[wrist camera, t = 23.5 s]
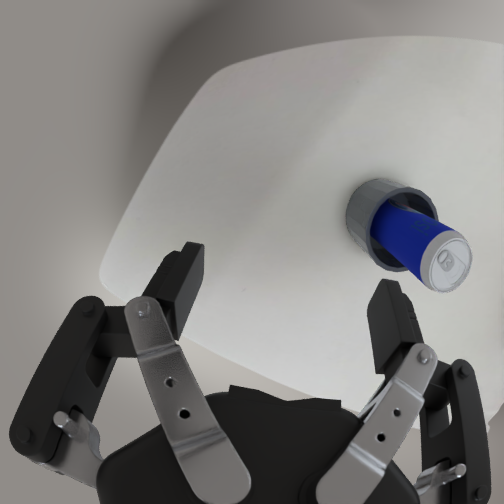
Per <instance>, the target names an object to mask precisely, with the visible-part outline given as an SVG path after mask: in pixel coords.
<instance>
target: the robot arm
mask: <svg viewBox="0 0 504 504" xmlns="http://www.w3.org/2000/svg"><path fill="white" fill-rule="evenodd" d="M203 275H204V244H199V243H193V242H188V241H187V242H186V244H185V245H184V247H183V249H182V251H181V252H179V251H172V252H171V253H169V254H168V255H167V256H165V258H164V259H163V261H162V262H161V264H160V266H159V267H158V269H157V271H156V273H155V274H154V275H153V277H152V279H151V280H150V282H149V284H148V285H147V287H146V289H145V291H144V292H143V294H142V296H140V297H136V298H134V299H132V300H130V301H129V302H128V303H127V305H126V306H105V305H104V303H103V301H102V300H101V299H100V298H98V297H96V296H86V297H83V298H81V299H79V300H78V301H77V302H76V303H75V304H74V305H73V307H72V308H71V310H70V312H69V314H68V315H67V316H66V318H65V320H64V322H63V323H62V325H61V326H60V328H59V330H58V331H57V333H56V335H55V337H54V339H53V340H52V342H51V344H50V346H49V347H48V349H47V351H46V353H45V354H44V356H43V358H42V360H41V362H40V364H39V366H38V368H37V370H36V372H35V374H34V375H33V377H32V380H31V382H30V384H29V386H28V388H27V390H26V392H25V394H24V396H23V399H22V401H21V403H20V405H19V407H18V410H17V412H16V414H15V417H14V419H13V421H12V424H11V426H10V431H9V438H10V441H11V444H12V446H13V447H14V449H15V450H16V451H17V452H18V453H20V454H21V455H23V456H25V457H27V458H29V459H30V460H31V461H32V462H34V463H36V464H38V465H40V466H42V467H44V468H46V469H48V470H51V471H54V472H56V473H59V474H61V475H67V476H69V477H71V478H73V479H75V480H77V481H79V482H81V483H84V484H86V485H89V486H91V487H93V488H96V489H97V493H98V497H99V501H100V504H487V503H488V501H489V498H490V495H491V471H490V458H489V449H488V440H487V432H486V426H485V419H484V414H483V408H482V403H481V398H480V394H479V389H478V385H477V381H476V377H475V373H474V370H473V368H472V366H471V365H470V364H469V363H468V362H467V361H465V360H463V359H457V360H455V361H454V362H453V363H452V364H451V365H449V364H446V363H444V362H441V361H439V360H437V356H436V353H435V352H434V350H433V349H432V348H431V347H429V346H428V345H426V344H424V341H423V337H422V334H421V331H420V327H419V324H418V321H417V320H416V319H417V317H416V314H415V313H414V308H413V305H412V302H411V301H410V299H409V298H408V297H407V295H406V294H404V293H402V291H401V288H400V285H399V282H398V281H393V280H388V279H382V280H381V281H380V282H379V284H378V286H377V288H376V290H375V292H374V294H373V296H372V298H371V300H370V302H369V304H368V309H367V317H368V323H369V329H370V336H371V342H372V349H373V357H374V364H375V372H376V374H385V379H384V380H383V382H382V383H381V384H380V386H379V387H378V389H377V390H376V392H375V393H374V394H373V396H372V397H371V399H370V400H369V401H368V403H367V404H366V405H365V407H364V408H363V409H362V410H361V412H360V413H359V414H358V415H357V416H356V415H354V414H353V413H351V412H349V411H347V410H345V409H343V408H341V400H333V399H322V398H310V399H302V400H294V401H285V400H282V399H279V398H277V397H274V396H272V395H269V394H267V393H264V392H262V391H259V390H256V389H250V388H244V387H239V386H234V385H230V387H229V392H219V393H213V394H209V395H206V396H204V395H203V393H202V391H201V389H200V388H199V385H198V383H197V381H196V379H195V377H194V375H193V373H192V371H191V369H190V367H189V364H188V362H187V360H186V358H185V356H184V354H183V351H182V349H181V347H180V346H179V345H177V344H176V343H175V340H177V341H179V338H180V336H181V333H182V331H183V328H184V326H185V323H186V321H187V318H188V316H189V313H190V311H191V308H192V306H193V303H194V301H195V299H196V296H197V294H198V291H199V289H200V286H201V284H202V280H203ZM118 357H128V358H130V357H132V358H137V359H138V362H139V365H140V368H141V371H142V374H143V377H144V380H145V383H146V386H147V389H148V391H149V394H150V397H151V399H152V402H153V405H154V407H155V410H156V412H157V415H158V417H159V419H160V422H161V424H160V425H158V426H157V427H155V428H153V429H152V430H150V431H148V432H147V433H145V434H144V435H142V436H140V437H139V438H137V439H135V440H134V441H132V442H130V443H129V444H127V445H125V446H124V447H122V448H120V449H118V450H117V451H115V452H113V453H112V454H110V455H109V456H108V457H107V458H105V459H104V460H103V459H102V457H101V455H100V452H99V443H100V436H99V432H98V430H97V429H96V427H95V426H94V425H92V421H93V419H94V416H95V413H96V410H97V408H98V405H99V402H100V400H101V397H102V394H103V392H104V389H105V387H106V384H107V382H108V379H109V377H110V374H111V372H112V370H113V367H114V365H115V362H116V360H117V358H118ZM449 403H450V406H451V413H452V421H451V424H450V425H449V417H448V409H447V405H448V404H449ZM418 414H419V416H420V430H421V451H422V473H421V474H420V475H419V476H418V478H417V482H416V483H415V484H414V485H412V484H411V483H410V481H409V480H408V479H407V478H406V476H405V475H404V474H403V473H402V471H401V470H400V469H399V467H398V466H397V465H396V464H395V463H394V461H393V460H392V458H393V456H394V455H395V453H396V452H397V450H398V449H399V447H400V445H401V444H402V442H403V440H404V439H405V437H406V435H407V434H408V432H409V430H410V428H411V427H412V425H413V423H414V421H415V419H416V417H417V416H418Z"/></svg>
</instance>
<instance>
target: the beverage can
mask: <svg viewBox="0 0 504 504" xmlns="http://www.w3.org/2000/svg"><path fill="white" fill-rule="evenodd" d="M370 236H371V237H372V238H374V239H375V240H376V241H377V242H378V243H379V244H380V245H382V246H383V247H384V248H385V249H386V250H387V251H388V252H390V253H391V254H392V255H393V256H394V257H395V258H396V259H397V260H398V261H400V262H401V263H402V264H403V265H404V266H405V267H406V268H407V269H408V270H409V271H410V272H411V273H413V274H414V275H415V276H416V277H417V278H418V279H419V280H420V281H421V282H422V283H423V284H424V285H425V286H426V287H427V288H429V289H431V290H434V291H437V292H440V293H448V292H451V291H453V290H455V289H456V288H457V287H459V286H460V285H461V284H462V283H463V281H464V280H465V279H466V277H467V275H468V273H469V271H470V268H471V264H472V250H471V247H470V245H469V243H468V242H467V241H466V239H465V238H464V237H463V235H462V234H460V233H459V232H457V231H455V230H453V229H452V228H450V227H448V226H446V225H444V224H442V223H440V222H438V221H436V220H434V219H432V218H430V217H428V216H426V215H424V214H422V213H420V212H418V211H416V210H414V209H412V208H410V207H408V206H405V205H403V204H401V203H399V202H397V201H395V200H392V199H390V198H388V199H387V200H386V201H385V202H384V203H383V204H382V205H381V206H380V207H379V209H378V210H377V212H376V214H375V215H374V217H373V221H372V224H371V228H370Z"/></svg>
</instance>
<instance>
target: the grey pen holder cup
mask: <svg viewBox="0 0 504 504" xmlns="http://www.w3.org/2000/svg"><path fill="white" fill-rule="evenodd" d="M388 198H390V199H392V200H395V201H397V202H399V203H401V204H403V205H405V206H408V207H410V208H412V209H414V210H416V211H418V212H420V213H422V214H424V215H426V216H428V217H430V218H432V219H434V220H436V221H438V222H439V220H438V215H437V211H436V208H435V206H434V204H433V203H432V201H431V199H430V198H429V197H428V196H427V195H426V194H424V193H423V192H422V191H420V190H417V189H414V188H411V187H408V186H405V185H402V184H399V183H396V182H393V181H390V180H386V179H374V180H371V181H368V182H366V183H364V184H363V185H361V186H360V187H359V188H358V189H357V190H356V191H355V192H354V193H353V195H352V196H351V198H350V200H349V203H348V206H347V210H346V224H347V228H348V231H349V233H350V235H351V236H352V238H353V239H354V240H355V241H356V242H357V244H358V245H359V246H360V247H361V248H362V249H363V250H364V251H365V252H366V253H367V254H368V256H369V257H370V258H371V259H372V260H373V261H374V262H375V263H376V264H377V265H378V266H380V267H382V268H383V269H385V270H388V271H393V272H401V271H407V270H408V269H407V268H406V267H405V266H404V265H403V264H402V263H401V262H400V261H398V260H397V259H396V258H395V257H394V256H393V255H392V254H391V253H390V252H388V251H387V250H386V249H385V248H384V247H383V246H382V245H380V244H379V243H378V242H377V241H376V240H375V239H374V238H372V237H371V236H370V228H371V224H372V221H373V217H374V215H375V214H376V212H377V210H378V209H379V207H380V206H381V205H382V204H383V203H384V202H385V201H386V200H387V199H388Z"/></svg>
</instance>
